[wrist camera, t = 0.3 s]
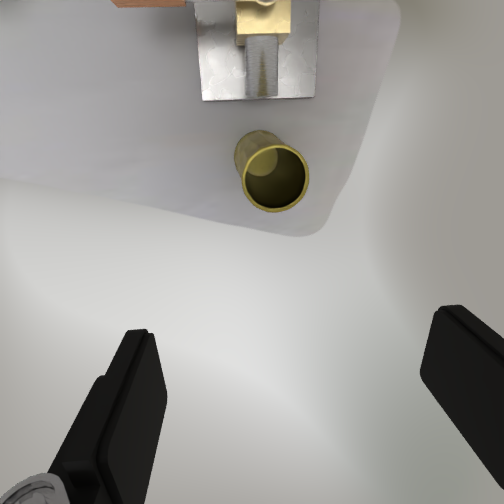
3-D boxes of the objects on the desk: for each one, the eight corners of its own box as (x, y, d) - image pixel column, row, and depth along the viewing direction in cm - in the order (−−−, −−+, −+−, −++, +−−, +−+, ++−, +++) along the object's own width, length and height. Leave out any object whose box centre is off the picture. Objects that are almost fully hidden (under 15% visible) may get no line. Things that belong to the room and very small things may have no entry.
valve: (188, -72, 27) (170, -152, 19) (318, -73, 27) (355, -151, 19) (203, 101, 33) (195, 95, 25) (311, 97, 33) (336, 91, 25)
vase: (223, 151, 35) (219, 171, 22) (266, 118, 34) (288, 118, 21) (253, 192, 37) (265, 232, 24) (294, 163, 36) (330, 188, 23)
